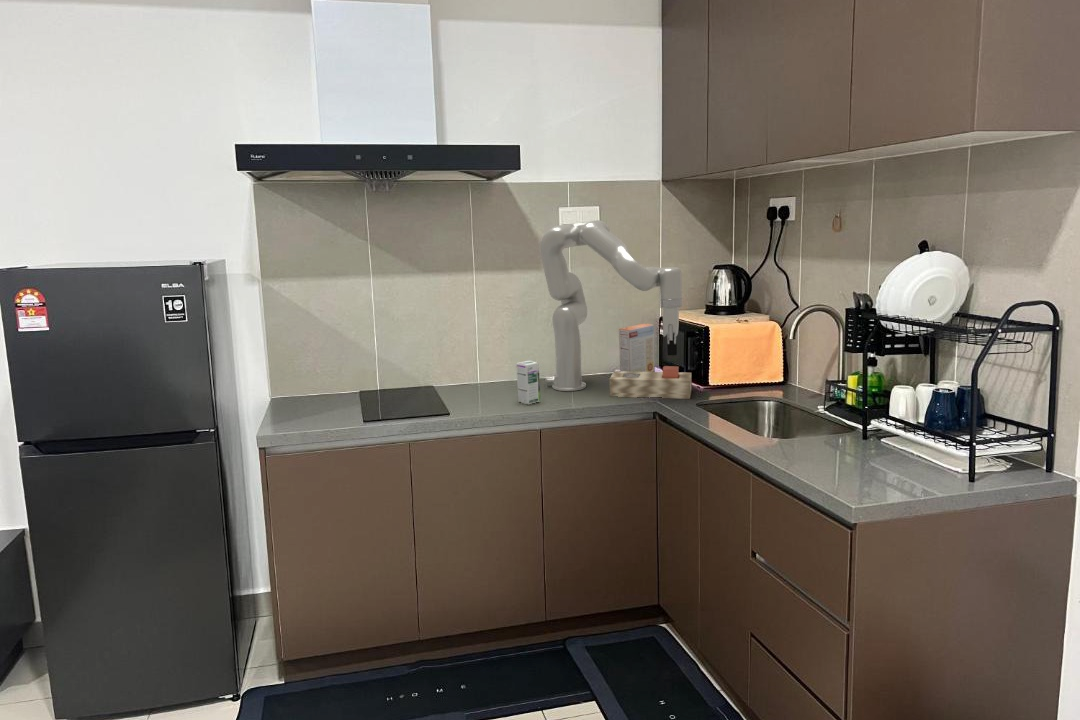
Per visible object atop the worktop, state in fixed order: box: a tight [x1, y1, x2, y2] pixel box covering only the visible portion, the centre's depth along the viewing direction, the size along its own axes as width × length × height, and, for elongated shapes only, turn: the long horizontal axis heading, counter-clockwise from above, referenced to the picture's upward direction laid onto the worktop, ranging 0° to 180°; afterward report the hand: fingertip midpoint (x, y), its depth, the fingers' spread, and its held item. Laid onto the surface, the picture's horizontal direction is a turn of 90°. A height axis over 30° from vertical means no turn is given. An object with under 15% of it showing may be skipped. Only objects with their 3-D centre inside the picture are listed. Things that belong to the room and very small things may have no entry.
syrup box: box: [516, 360, 542, 403], centre depth 275 cm, size 6×6×14 cm
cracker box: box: [618, 323, 656, 372], centre depth 300 cm, size 14×6×21 cm, turn 130°
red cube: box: [662, 365, 680, 378], centre depth 279 cm, size 5×5×5 cm
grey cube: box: [623, 374, 639, 378], centre depth 283 cm, size 5×5×5 cm
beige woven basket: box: [609, 370, 692, 400], centre depth 281 cm, size 28×12×6 cm, turn 77°
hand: (672, 354), depth 277 cm, fingers closed
